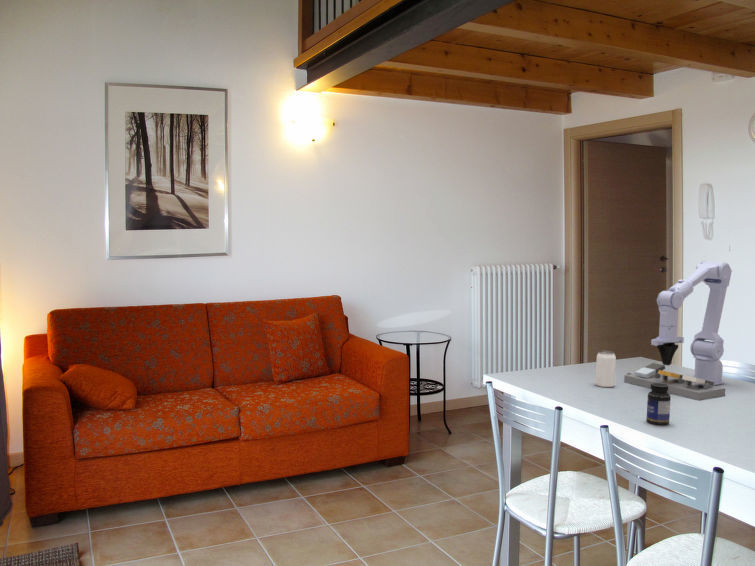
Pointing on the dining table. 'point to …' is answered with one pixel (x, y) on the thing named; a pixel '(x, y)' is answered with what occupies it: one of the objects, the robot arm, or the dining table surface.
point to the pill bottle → (658, 404)
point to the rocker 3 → (697, 380)
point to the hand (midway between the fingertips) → (666, 364)
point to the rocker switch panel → (678, 386)
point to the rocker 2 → (670, 374)
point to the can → (605, 369)
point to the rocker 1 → (649, 370)
